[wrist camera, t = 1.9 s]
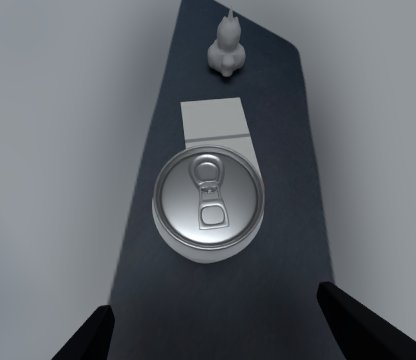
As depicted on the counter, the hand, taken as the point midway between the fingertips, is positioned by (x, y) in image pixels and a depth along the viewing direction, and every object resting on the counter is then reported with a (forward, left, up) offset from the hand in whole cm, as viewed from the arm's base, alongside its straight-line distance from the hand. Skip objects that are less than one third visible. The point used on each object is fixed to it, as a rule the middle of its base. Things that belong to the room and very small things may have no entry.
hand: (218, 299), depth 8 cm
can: (+5, 0, -12) cm, 13 cm away
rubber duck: (+29, -7, -12) cm, 32 cm away
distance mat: (+16, -4, -11) cm, 20 cm away
